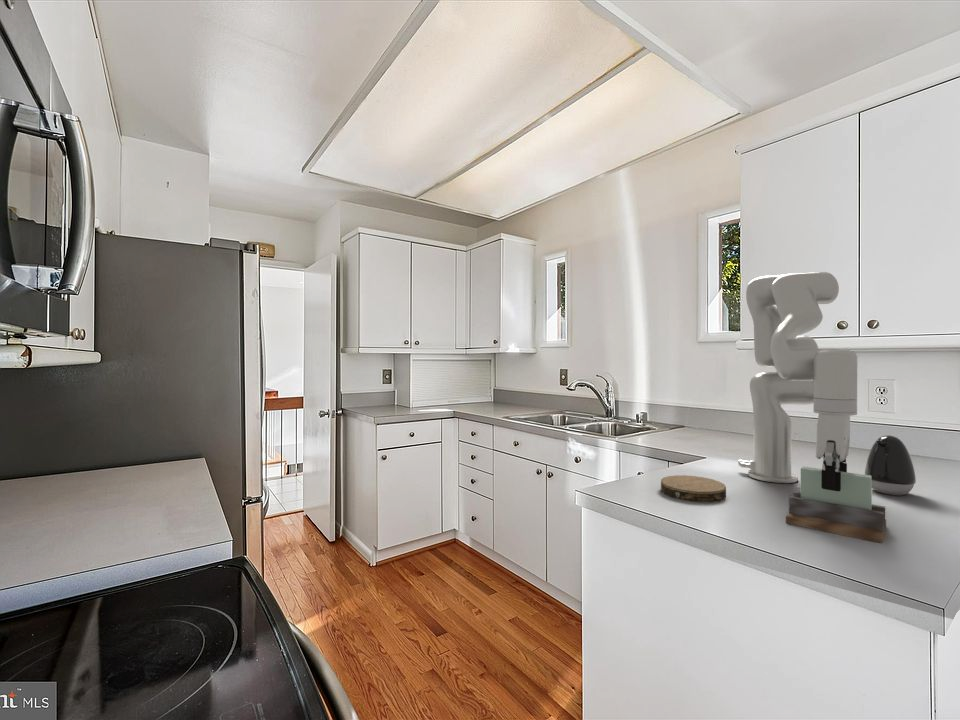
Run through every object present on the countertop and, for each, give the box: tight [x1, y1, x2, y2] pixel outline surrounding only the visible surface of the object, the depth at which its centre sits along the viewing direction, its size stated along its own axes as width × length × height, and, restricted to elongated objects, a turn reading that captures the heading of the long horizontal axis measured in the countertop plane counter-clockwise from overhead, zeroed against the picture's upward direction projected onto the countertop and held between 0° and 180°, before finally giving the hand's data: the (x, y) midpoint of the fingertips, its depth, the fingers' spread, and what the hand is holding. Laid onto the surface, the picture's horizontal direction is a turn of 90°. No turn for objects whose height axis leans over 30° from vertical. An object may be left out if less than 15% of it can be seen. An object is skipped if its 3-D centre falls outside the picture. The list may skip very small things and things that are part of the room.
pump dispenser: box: [864, 435, 917, 496], centre depth 122 cm, size 10×10×15 cm
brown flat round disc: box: [660, 474, 727, 503], centre depth 124 cm, size 16×16×3 cm
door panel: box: [800, 466, 873, 510], centre depth 100 cm, size 12×2×10 cm, turn 46°
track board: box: [785, 491, 887, 544], centre depth 100 cm, size 16×12×5 cm
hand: (834, 484), depth 100 cm, fingers open, 9 cm apart
